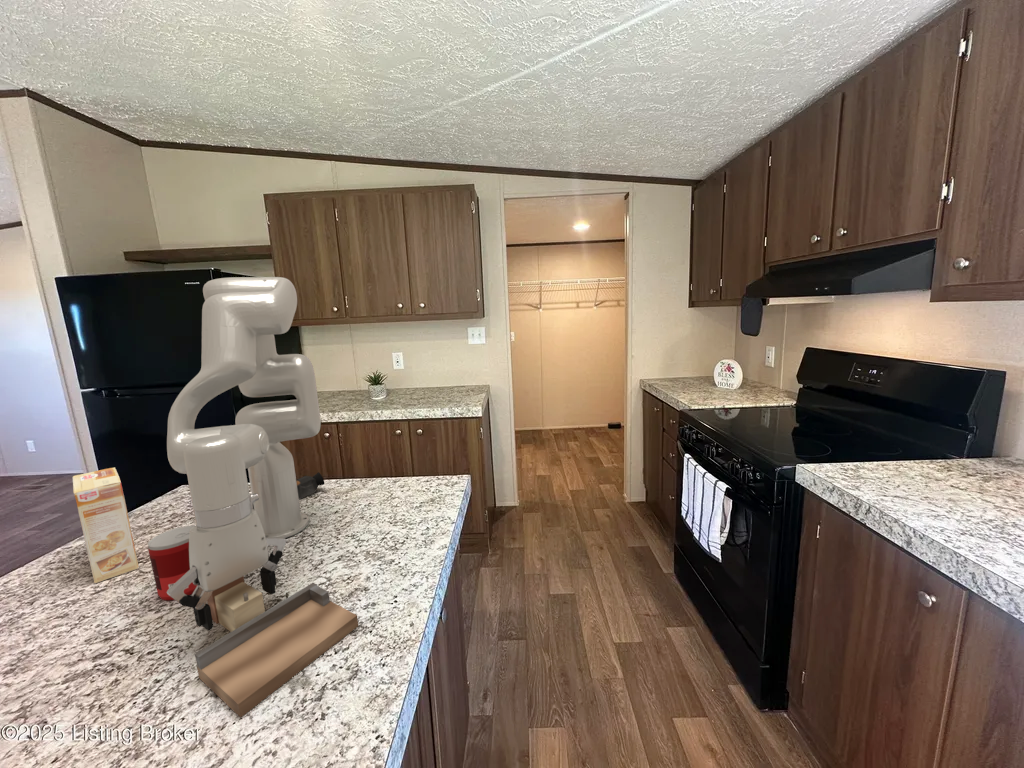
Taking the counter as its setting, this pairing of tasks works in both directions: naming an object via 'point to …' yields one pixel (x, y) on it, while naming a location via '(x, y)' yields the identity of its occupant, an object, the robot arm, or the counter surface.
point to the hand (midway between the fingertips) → (239, 608)
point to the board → (273, 647)
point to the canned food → (170, 559)
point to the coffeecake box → (105, 523)
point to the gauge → (235, 604)
